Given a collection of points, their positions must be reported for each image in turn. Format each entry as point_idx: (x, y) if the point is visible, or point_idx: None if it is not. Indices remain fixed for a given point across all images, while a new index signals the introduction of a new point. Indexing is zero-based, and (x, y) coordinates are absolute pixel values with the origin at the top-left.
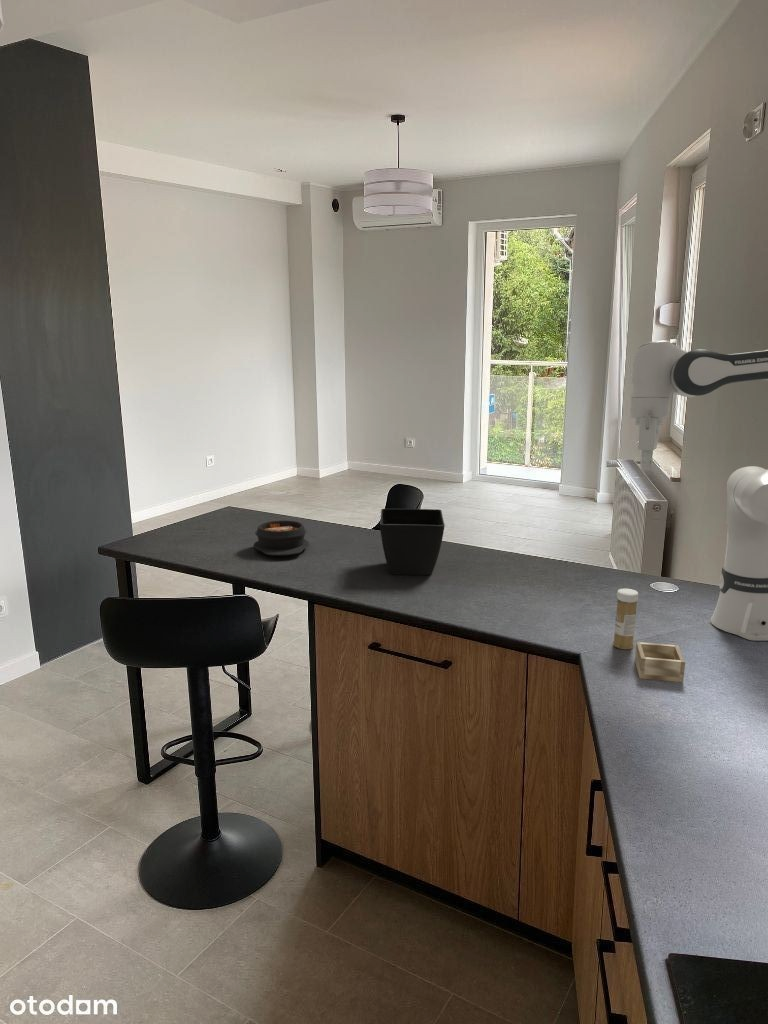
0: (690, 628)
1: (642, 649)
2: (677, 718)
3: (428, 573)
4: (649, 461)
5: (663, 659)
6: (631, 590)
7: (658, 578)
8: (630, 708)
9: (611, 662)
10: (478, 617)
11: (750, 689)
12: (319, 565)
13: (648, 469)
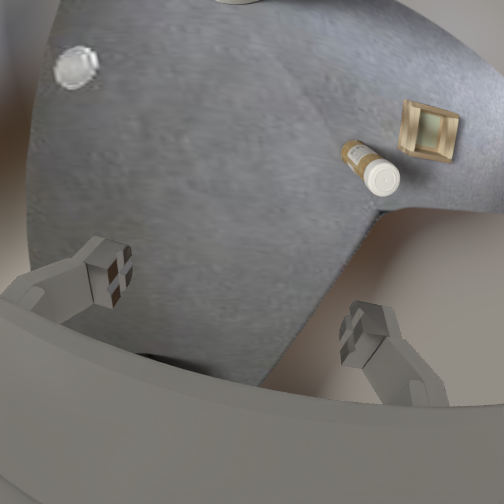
0: (266, 37)
1: (430, 154)
2: (499, 146)
3: (151, 357)
4: (407, 347)
5: (453, 138)
6: (380, 173)
7: (42, 79)
8: (484, 182)
9: (401, 177)
10: (275, 312)
11: (451, 43)
12: None
13: (388, 309)
